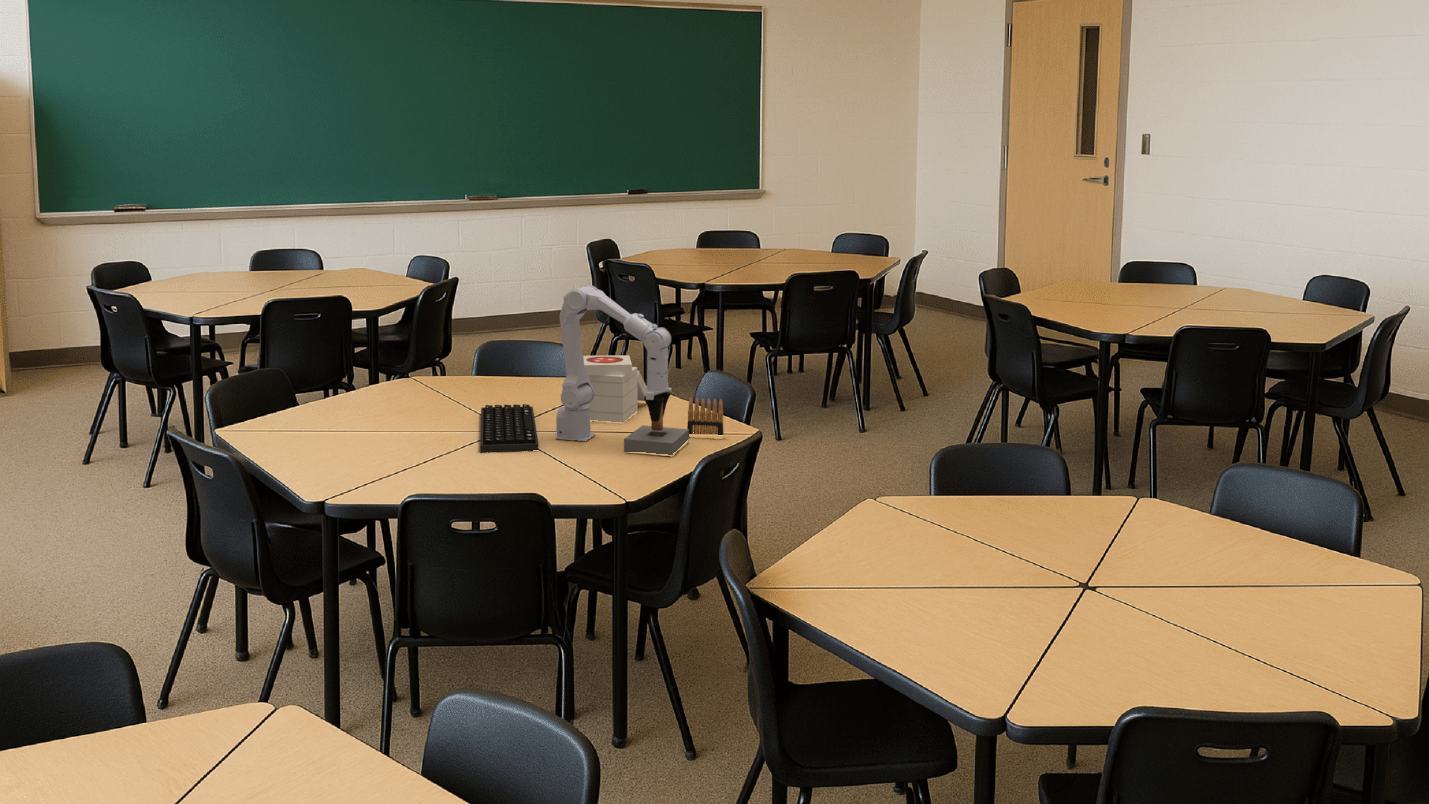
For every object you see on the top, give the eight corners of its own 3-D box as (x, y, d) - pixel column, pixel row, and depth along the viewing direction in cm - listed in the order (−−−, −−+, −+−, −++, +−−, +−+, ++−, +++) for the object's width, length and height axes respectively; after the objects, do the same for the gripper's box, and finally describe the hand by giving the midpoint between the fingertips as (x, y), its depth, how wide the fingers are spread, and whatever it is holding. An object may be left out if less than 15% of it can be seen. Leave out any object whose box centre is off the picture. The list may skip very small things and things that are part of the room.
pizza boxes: (654, 404, 380) (655, 350, 376) (626, 426, 352) (626, 367, 347) (599, 400, 384) (599, 346, 380) (567, 421, 356) (566, 363, 352)
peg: (650, 430, 326) (650, 402, 324) (653, 427, 329) (653, 399, 327) (660, 431, 325) (661, 403, 324) (664, 428, 328) (664, 400, 327)
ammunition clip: (723, 438, 340) (724, 398, 338) (722, 439, 339) (723, 399, 336) (687, 436, 342) (688, 396, 339) (686, 437, 340) (687, 397, 337)
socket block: (624, 452, 323) (624, 438, 322) (642, 438, 338) (642, 425, 337) (672, 457, 319) (672, 443, 318) (688, 442, 334) (688, 429, 333)
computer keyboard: (538, 453, 323) (538, 439, 322) (480, 455, 320) (480, 441, 319) (532, 414, 366) (532, 402, 365) (481, 415, 363) (481, 403, 362)
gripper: (663, 378, 316) (663, 426, 319) (678, 368, 329) (678, 414, 332) (638, 376, 317) (638, 424, 321) (655, 366, 331) (654, 412, 334)
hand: (657, 419), depth 327 cm, fingers closed on peg, 3 cm apart
